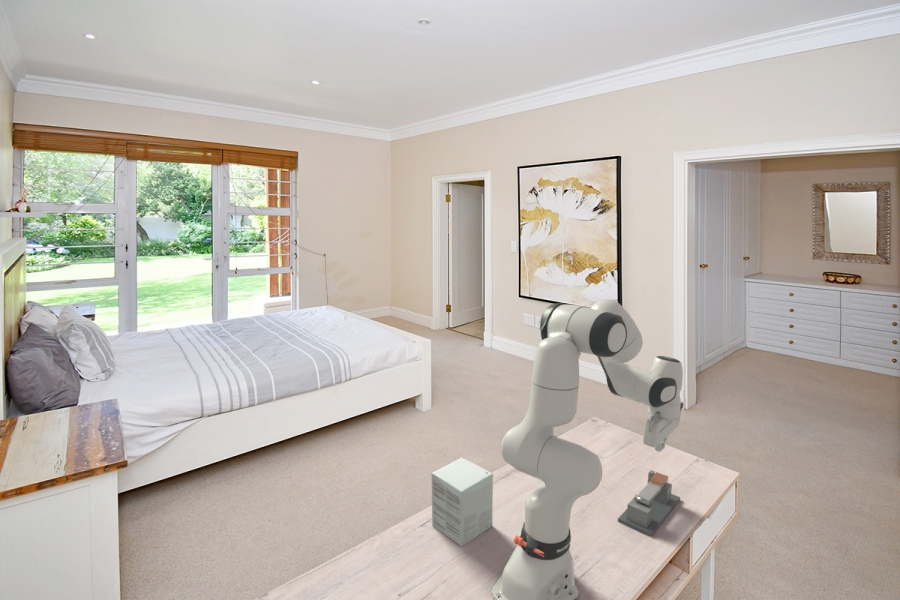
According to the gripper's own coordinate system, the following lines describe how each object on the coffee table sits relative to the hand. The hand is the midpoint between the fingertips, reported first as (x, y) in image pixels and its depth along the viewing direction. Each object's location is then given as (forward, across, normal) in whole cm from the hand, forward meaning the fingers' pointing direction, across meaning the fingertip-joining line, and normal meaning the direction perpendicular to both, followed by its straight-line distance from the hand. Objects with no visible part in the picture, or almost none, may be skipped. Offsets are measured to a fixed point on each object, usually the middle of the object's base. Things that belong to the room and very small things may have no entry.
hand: (659, 449), depth 147 cm
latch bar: (+13, -3, 0) cm, 13 cm away
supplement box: (+20, -50, +38) cm, 66 cm away
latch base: (+19, -4, 0) cm, 20 cm away
